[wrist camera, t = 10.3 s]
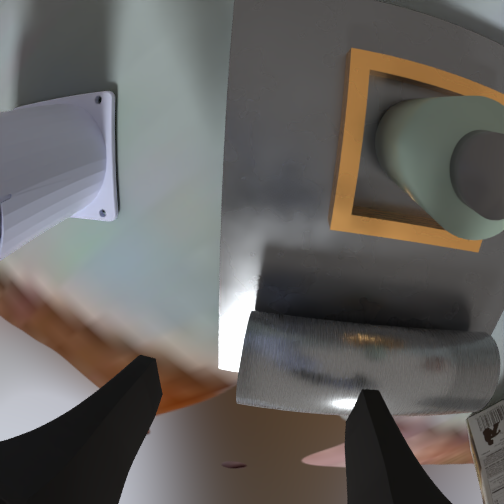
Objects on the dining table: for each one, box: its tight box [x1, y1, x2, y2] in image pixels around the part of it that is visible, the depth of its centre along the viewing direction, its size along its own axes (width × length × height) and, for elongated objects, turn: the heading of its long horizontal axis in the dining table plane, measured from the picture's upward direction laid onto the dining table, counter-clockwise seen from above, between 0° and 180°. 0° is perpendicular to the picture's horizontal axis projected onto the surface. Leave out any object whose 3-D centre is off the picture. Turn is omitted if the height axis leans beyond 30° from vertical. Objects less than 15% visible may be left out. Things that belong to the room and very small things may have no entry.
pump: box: [375, 96, 504, 240], centre depth 9 cm, size 4×4×7 cm
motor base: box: [219, 0, 504, 416], centre depth 13 cm, size 18×22×7 cm
